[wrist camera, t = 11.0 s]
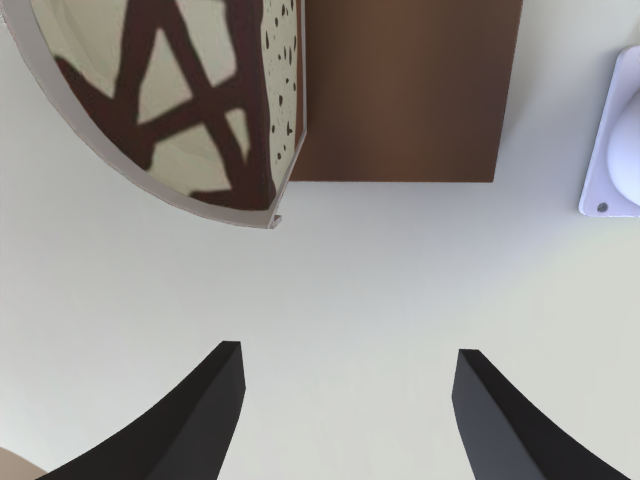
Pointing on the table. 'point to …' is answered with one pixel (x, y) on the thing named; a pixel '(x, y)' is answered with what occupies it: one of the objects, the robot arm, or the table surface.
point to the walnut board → (406, 89)
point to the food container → (178, 93)
